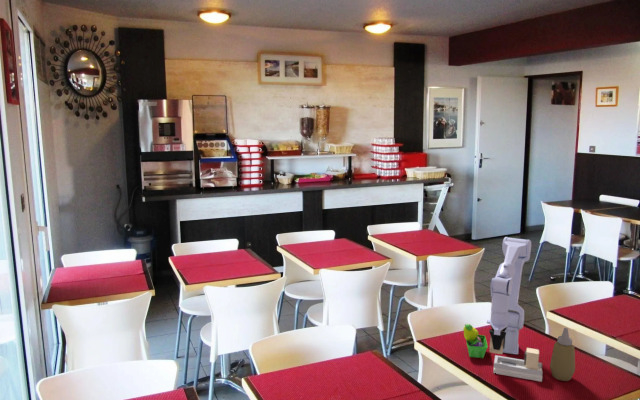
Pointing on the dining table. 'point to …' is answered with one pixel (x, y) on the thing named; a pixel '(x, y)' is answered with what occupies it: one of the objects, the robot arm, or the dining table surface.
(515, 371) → the rail
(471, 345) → the fruit basket
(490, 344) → the maple finger
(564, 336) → the squeeze bottle
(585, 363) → the dining table surface
